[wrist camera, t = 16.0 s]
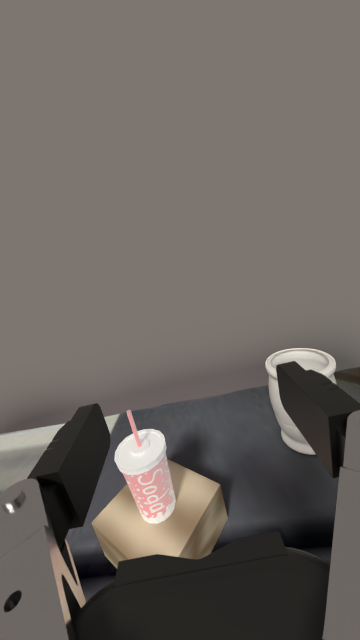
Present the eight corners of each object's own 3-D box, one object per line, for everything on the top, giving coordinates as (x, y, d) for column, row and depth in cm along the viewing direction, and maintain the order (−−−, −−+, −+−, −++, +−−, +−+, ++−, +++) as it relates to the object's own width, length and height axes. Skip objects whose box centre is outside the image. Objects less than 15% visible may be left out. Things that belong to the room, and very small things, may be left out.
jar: (281, 412, 50) (273, 346, 47) (341, 423, 44) (337, 348, 41) (269, 451, 42) (257, 374, 38) (340, 470, 36) (334, 381, 32)
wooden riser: (164, 481, 41) (155, 453, 39) (227, 518, 33) (220, 484, 32) (105, 556, 32) (91, 522, 31) (173, 628, 24) (159, 589, 23)
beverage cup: (130, 535, 28) (93, 435, 25) (138, 486, 34) (109, 401, 31) (182, 525, 28) (152, 423, 24) (181, 478, 34) (156, 391, 30)
